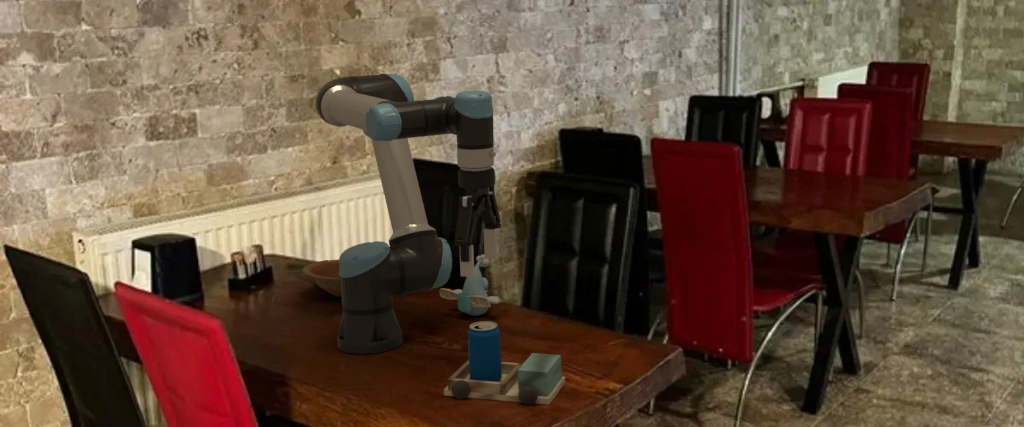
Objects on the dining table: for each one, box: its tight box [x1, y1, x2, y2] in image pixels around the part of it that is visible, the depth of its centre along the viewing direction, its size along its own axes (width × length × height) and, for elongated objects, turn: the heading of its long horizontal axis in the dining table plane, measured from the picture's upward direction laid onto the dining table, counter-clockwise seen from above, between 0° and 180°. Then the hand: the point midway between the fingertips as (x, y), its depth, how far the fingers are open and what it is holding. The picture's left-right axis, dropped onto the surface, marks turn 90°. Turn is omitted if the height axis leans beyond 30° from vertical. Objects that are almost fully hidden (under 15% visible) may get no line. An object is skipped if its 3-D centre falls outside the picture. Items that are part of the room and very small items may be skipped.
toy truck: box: [443, 352, 566, 406], centre depth 202 cm, size 22×14×6 cm, turn 72°
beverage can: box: [467, 320, 502, 382], centre depth 202 cm, size 6×6×12 cm
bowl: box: [302, 259, 342, 298], centre depth 276 cm, size 24×24×8 cm
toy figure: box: [439, 254, 502, 317], centre depth 251 cm, size 17×10×15 cm, turn 50°
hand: (479, 267), depth 209 cm, fingers open, 13 cm apart
